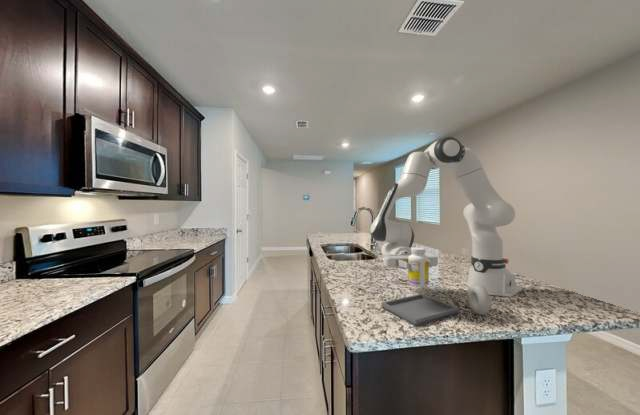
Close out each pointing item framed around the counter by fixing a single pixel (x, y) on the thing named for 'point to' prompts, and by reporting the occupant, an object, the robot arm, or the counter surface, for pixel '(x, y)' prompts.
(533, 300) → the counter surface
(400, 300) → the drying tray
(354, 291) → the counter surface
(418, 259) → the supplement bottle
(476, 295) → the donut
